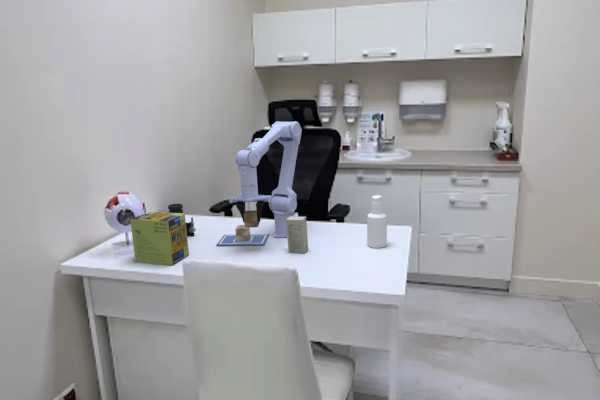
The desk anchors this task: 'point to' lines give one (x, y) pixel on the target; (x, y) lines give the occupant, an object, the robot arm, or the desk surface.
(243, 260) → the desk surface
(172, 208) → the scope
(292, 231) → the skincare box
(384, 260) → the desk surface
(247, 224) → the walnut block
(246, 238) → the maple block
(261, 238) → the board
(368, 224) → the spray bottle
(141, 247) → the protein box
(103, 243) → the desk surface
